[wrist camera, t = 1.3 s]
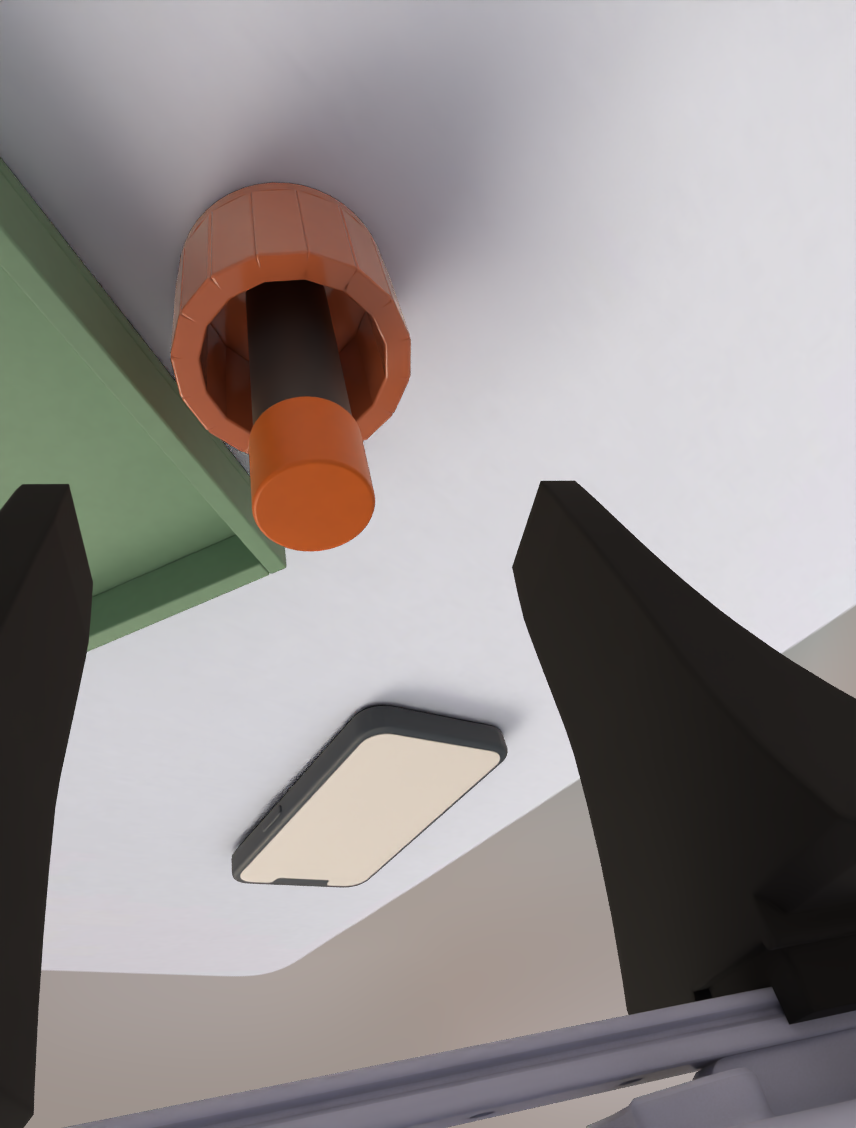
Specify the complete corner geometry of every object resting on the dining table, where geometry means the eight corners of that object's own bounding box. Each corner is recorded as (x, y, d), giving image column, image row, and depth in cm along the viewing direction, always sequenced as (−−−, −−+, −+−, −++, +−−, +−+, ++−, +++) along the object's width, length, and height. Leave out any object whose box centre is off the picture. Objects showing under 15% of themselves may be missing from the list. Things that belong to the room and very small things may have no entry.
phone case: (363, 693, 33) (221, 856, 42) (368, 723, 32) (222, 884, 40) (511, 723, 38) (357, 864, 46) (521, 750, 37) (361, 890, 45)
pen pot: (249, 405, 21) (253, 491, 19) (133, 241, 17) (118, 321, 15) (414, 329, 20) (442, 408, 18) (331, 141, 17) (351, 206, 14)
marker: (269, 351, 20) (290, 568, 14) (224, 279, 18) (227, 493, 13) (344, 316, 19) (394, 524, 14) (304, 240, 18) (343, 442, 12)
